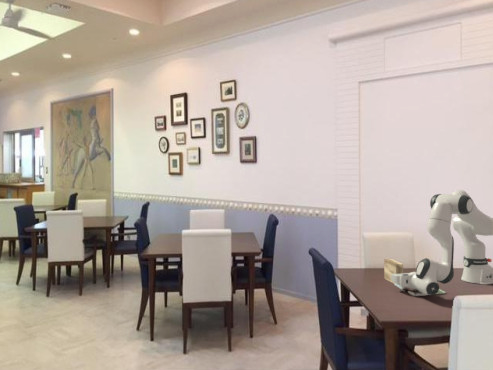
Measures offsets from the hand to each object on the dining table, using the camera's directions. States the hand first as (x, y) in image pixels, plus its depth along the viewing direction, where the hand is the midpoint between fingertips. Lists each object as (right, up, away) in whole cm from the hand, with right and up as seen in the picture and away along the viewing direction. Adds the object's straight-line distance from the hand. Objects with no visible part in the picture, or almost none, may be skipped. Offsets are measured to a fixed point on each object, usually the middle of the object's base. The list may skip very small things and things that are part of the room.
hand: (402, 273), depth 240 cm
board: (-2, -7, +10) cm, 12 cm away
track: (0, -7, -2) cm, 7 cm away
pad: (+12, -7, -8) cm, 16 cm away
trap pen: (+2, -8, -15) cm, 17 cm away
